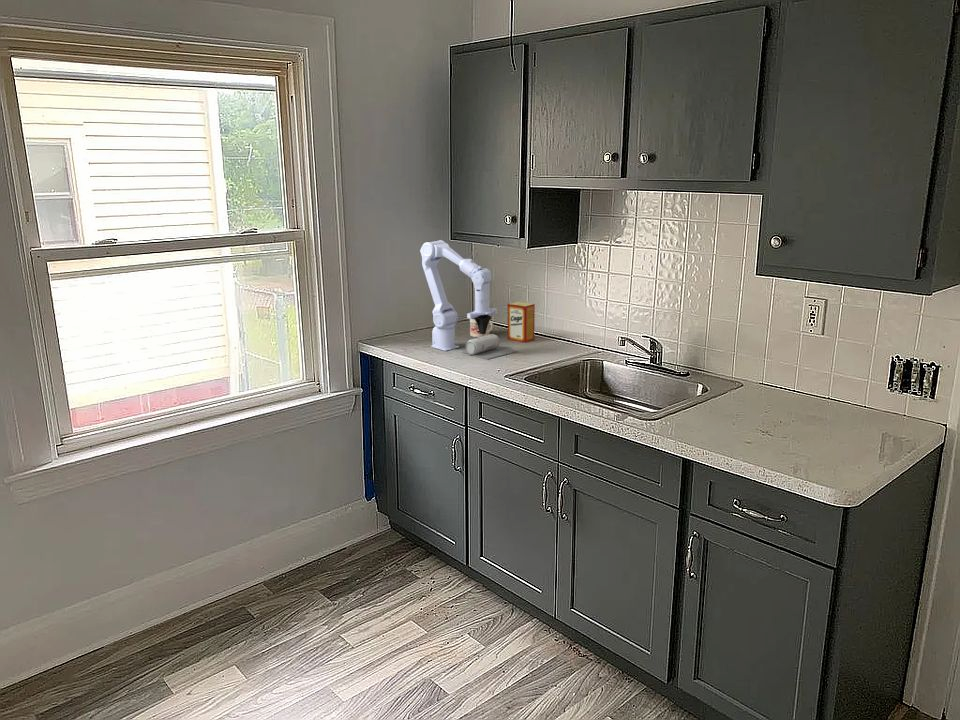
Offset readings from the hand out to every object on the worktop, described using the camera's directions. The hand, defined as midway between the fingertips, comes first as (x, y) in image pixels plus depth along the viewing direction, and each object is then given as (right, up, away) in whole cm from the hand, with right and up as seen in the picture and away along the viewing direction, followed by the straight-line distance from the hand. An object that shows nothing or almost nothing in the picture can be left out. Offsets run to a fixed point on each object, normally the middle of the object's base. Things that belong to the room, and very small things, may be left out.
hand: (482, 333), depth 295 cm
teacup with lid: (0, 0, +32) cm, 32 cm away
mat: (+3, -7, +5) cm, 9 cm away
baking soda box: (+17, -2, +25) cm, 30 cm away
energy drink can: (-5, -6, -1) cm, 8 cm away
